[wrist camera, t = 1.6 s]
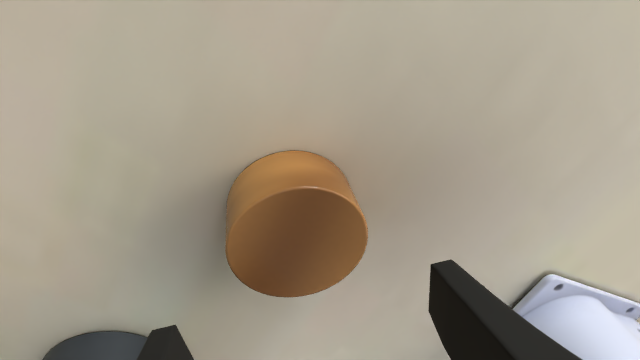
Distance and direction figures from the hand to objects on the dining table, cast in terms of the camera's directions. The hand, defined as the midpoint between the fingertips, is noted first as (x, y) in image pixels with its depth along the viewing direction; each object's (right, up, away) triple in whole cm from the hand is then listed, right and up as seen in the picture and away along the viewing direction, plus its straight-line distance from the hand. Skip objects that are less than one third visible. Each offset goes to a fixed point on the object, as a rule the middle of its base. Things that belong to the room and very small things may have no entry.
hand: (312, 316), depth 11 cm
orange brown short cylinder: (-1, +3, +5) cm, 6 cm away
